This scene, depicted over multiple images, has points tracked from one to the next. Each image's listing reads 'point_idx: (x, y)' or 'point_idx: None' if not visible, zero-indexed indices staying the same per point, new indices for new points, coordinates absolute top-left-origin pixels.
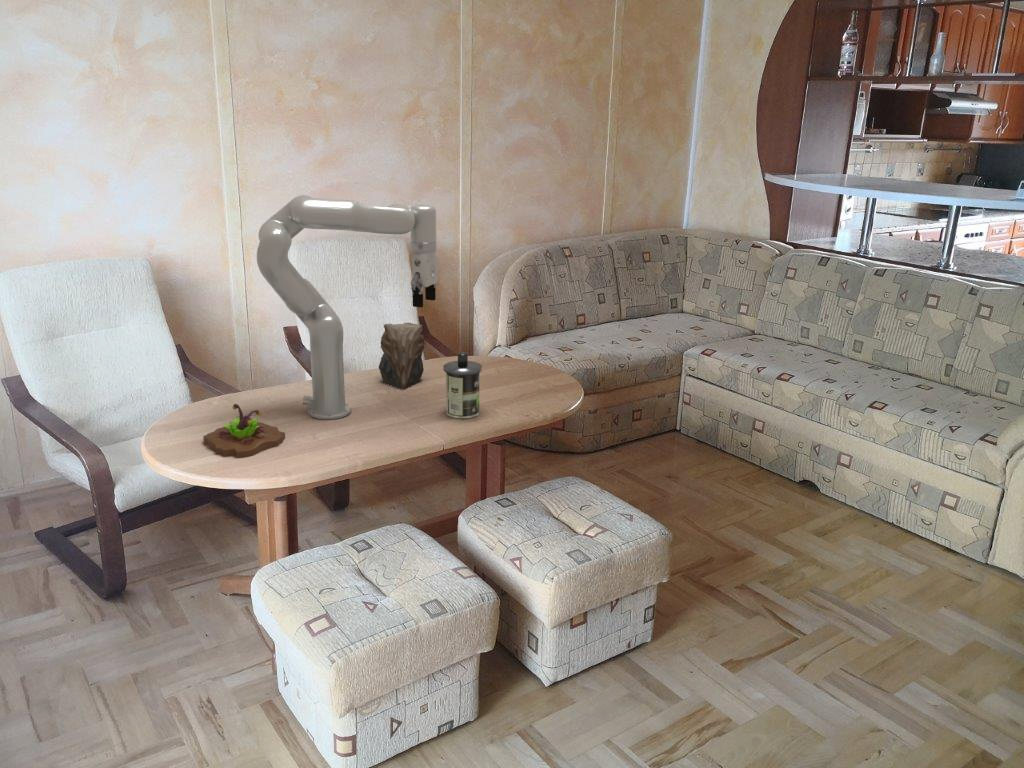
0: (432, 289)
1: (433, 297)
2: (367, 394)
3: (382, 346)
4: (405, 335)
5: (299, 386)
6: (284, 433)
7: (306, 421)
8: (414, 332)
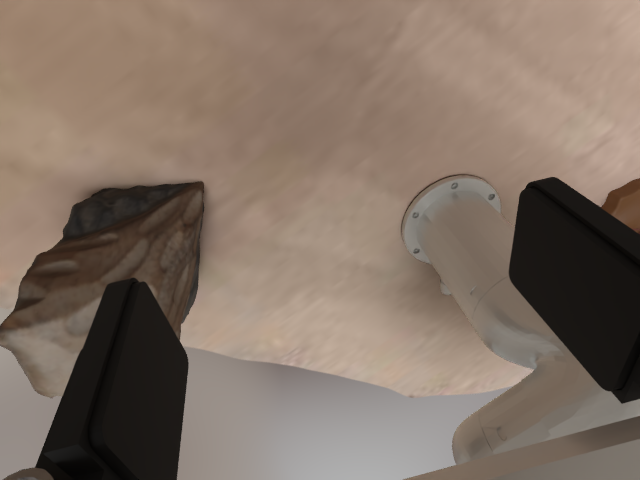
0: (121, 432)
1: (141, 312)
2: (296, 234)
3: None
4: None
5: (331, 359)
6: (622, 196)
7: (511, 222)
8: (70, 317)
